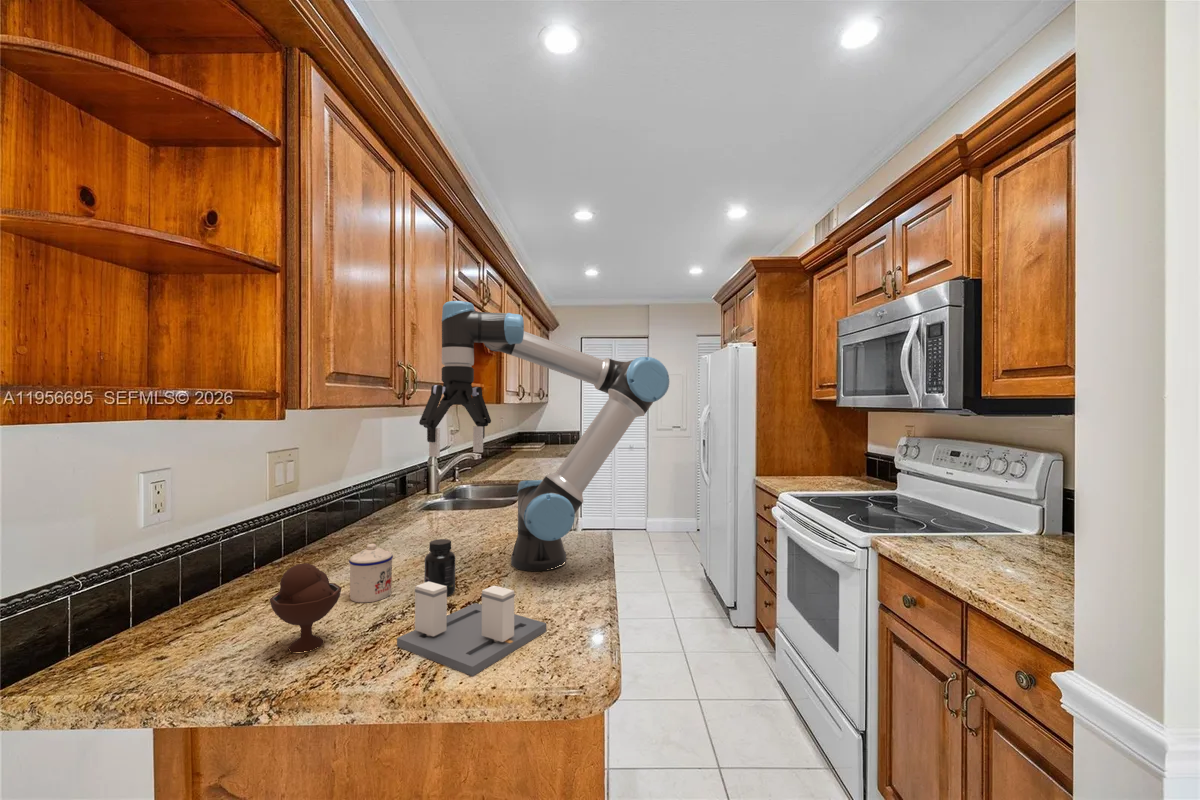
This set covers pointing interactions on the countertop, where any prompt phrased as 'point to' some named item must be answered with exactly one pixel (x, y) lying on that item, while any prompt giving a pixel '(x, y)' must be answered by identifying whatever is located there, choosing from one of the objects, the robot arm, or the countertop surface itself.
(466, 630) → the fader panel
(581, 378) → the robot arm
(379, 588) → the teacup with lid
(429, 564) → the supplement bottle
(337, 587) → the ice cream bowl
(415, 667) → the countertop surface
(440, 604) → the block
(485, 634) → the block
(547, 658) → the countertop surface
